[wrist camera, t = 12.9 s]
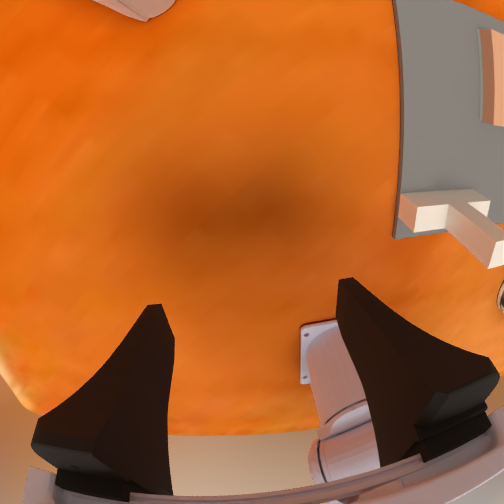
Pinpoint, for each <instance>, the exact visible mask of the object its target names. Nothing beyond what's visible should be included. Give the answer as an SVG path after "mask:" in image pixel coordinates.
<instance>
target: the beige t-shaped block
mask: <svg viewBox="0 0 504 504" xmlns="http://www.w3.org/2000/svg"><path fill="white" fill-rule="evenodd" d="M489 206H490V200H489V199H487V198H486V197H484V196H483V195H481V194H480V193H478V192H477V191H475V190H474V189H460V190H443V191H428V192H414V193H401V194H400V203H399V213H398V218H399V219H400V220H401V221H402V222H403V223H404V224H405V225H406V226H407V227H408V228H409V229H410V230H411V231H413V232H414V233H415V232H422V231H429V230H436V229H443V228H445V229H446V230H447V231H448V232H449V233H450V234H451V235H453V236H454V237H455V238H456V239H457V240H458V241H459V242H460V243H461V244H462V245H463V246H465V247H466V248H467V249H468V250H469V251H470V252H471V253H472V254H473V255H474V256H475V257H476V258H477V259H478V260H479V261H480V262H481V263H482V264H483V265H484V266H485V267H486V268H487V269H490V268H493V267H497V266H501V265H504V230H503V229H502V228H500V227H499V226H498V225H496V224H495V223H494V222H493V221H491V220H490V219H489V218H487V215H488V210H489Z"/></svg>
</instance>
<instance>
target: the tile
mask: <svg viewBox="0 0 504 504" xmlns="http://www.w3.org/2000/svg"><path fill="white" fill-rule="evenodd" d="M477 34H478V44H479V58H480V87H481V96H480V120H481V121H483V122H486V123H489V124H492V125H497V126H502V127H504V35H503V34H501V33H499V32H497V31H494V30H492V29H477Z"/></svg>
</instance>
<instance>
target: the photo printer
mask: <svg viewBox="0 0 504 504" xmlns="http://www.w3.org/2000/svg"><path fill="white" fill-rule="evenodd" d="M93 1H96V2H98V3H100V4H102V5H104V6H107V7H109V8H111V9H113V10H115V11H117V12H119V13H121V14H123V15H126V16H128V17H131V18H134V19H137V20H140V21H144V22H147V21H148V19H149V18H153V17H156V16H158V15H160V14H162V13H164V12H165V11H166V10H168V9H169V8H170V7H171V6H172V5H173V4H174V2H175V1H176V0H93Z"/></svg>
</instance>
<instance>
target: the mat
mask: <svg viewBox="0 0 504 504" xmlns="http://www.w3.org/2000/svg"><path fill="white" fill-rule="evenodd" d="M392 2H393V9H394V16H395V25H396V34H397V44H398V57H399V73H400V105H401V124H400V157H399V175H398V188H397V200H396V210H395V219H394V227H393V235H392V237H393V238H394V239H402V238H409V237H415V236H422V235H429V234H436V233H442V232H448V231H447V230H446V229H445V228H443V229H436V230H429V231H422V232H415V233H414V232H413V231H411V230H410V229H409V228H408V227H407V226H406V225H405V224H404V223H403V222H402V221H401V220H400V219H399V218H398V213H399V203H400V194H401V193H414V192H428V191H443V190H460V189H474V190H475V191H477V192H478V193H480V194H481V195H483V196H484V197H486V198H487V199H489V200H490V206H489V210H488V215H487V218H489V219H490V220H491V221H493V222H494V223H495V224H502V223H504V127H502V126H497V125H492V124H489V123H486V122H483V121H481V120H480V96H481V87H480V58H479V44H478V34H477V29H492V30H494V31H497V32H499V33H501V34H503V35H504V22H502V21H500V20H498V19H496V18H494V17H492V16H490V15H488V14H485V13H483V12H481V11H478V10H476V9H474V8H471V7H469V6H466V5H464V4H461V3H458V2H456V1H453V0H392Z"/></svg>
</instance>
